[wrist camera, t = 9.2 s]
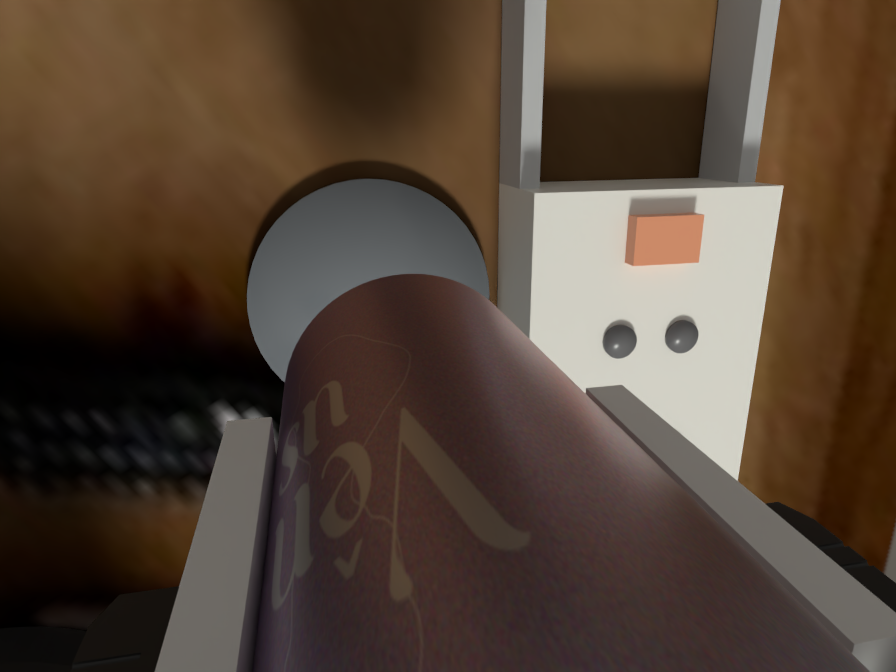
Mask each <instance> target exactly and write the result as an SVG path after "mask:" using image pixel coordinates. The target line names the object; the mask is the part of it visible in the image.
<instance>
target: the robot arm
mask: <svg viewBox="0 0 896 672" xmlns="http://www.w3.org/2000/svg"><path fill="white" fill-rule="evenodd" d="M586 395H587V396H588V397H589V398H590V399H591V400H592V401H593V402H595V403H596V404H597V405H598V406H599V407H600V408H601V409H602V410H603V411H604V412H605V413H606V414H607V415H608V416H609V417H610V418H611V419H612V420H613V421H614V422H615V423H616V424H617V425H618V426H619V427H620V428H621V429H622V430H623V431H624V432H625V433H626V434H627V435H628V436H629V437H630V438H631V439H632V440H633V441H634V442H636V443H637V444H638V445H639V446H640V447H641V448H642V449H643V450H644V451H645V452H646V453H647V454H648V455H649V456H650V457H651V458H652V459H653V460H654V461H655V462H656V463H657V464H658V465H659V466H660V467H661V468H662V469H663V470H664V471H665V472H666V473H667V474H668V475H669V476H670V477H671V478H672V479H673V480H674V481H675V482H677V483H678V484H679V485H680V486H681V487H682V488H683V489H684V490H685V491H686V492H687V493H688V494H689V495H690V496H691V497H692V498H693V499H694V500H695V501H696V502H697V503H698V504H699V505H700V506H701V507H702V508H703V509H704V510H705V511H706V512H707V513H708V514H709V515H710V516H711V517H712V518H713V519H714V520H715V521H716V522H718V523H719V524H720V525H721V526H722V527H723V528H724V529H725V530H726V531H727V532H728V533H729V534H730V535H731V536H732V537H733V538H734V539H735V540H736V541H737V542H738V543H739V544H740V545H741V546H742V547H743V548H744V549H745V550H746V551H747V552H748V553H749V554H750V555H751V556H752V557H753V558H754V559H755V560H756V561H757V562H759V563H760V564H761V565H762V566H763V567H764V568H765V569H766V570H767V571H768V572H769V573H770V574H771V575H772V576H773V577H774V578H775V579H776V580H777V581H778V582H779V583H780V584H781V585H782V586H783V587H784V588H785V589H786V590H787V591H788V592H789V593H790V594H791V595H792V596H793V597H794V598H795V599H796V600H797V601H798V602H800V603H801V604H802V605H803V606H804V607H805V608H806V609H807V610H808V611H809V612H810V613H811V614H812V615H813V616H814V617H815V618H816V619H817V620H818V621H819V622H820V623H821V624H822V625H823V626H824V627H825V628H826V629H827V630H828V631H829V632H830V633H831V634H832V635H833V636H834V637H835V638H836V639H837V640H838V641H839V642H841V643H842V644H843V645H844V646H845V647H846V648H847V649H848V650H849V651H850V652H851V653H852V654H853V655H854V656H855V657H856V658H857V659H858V660H859V661H860V662H861V663H862V664H863V665H864V666H865V667H866V668H867V669H868V670H869V671H870V672H896V583H895V582H894V581H892V580H891V579H890V578H888V577H887V576H886V575H885V574H883V573H882V572H881V571H879V570H878V569H877V568H876V567H874V566H869V565H868V564H867V560H865V559H864V558H863V557H862V556H860V555H859V554H858V553H856V552H855V551H854V550H853V549H851V548H850V547H849V546H847V547H844V545H843V542H842V541H841V540H840V539H839V538H837V537H836V536H835V535H833V534H832V533H831V532H830V531H828V530H827V529H826V528H824V527H823V526H822V525H821V524H819V523H818V522H817V521H816V520H814V519H812V518H810V517H808V516H806V515H804V514H802V513H800V512H798V511H796V510H794V509H792V508H790V507H788V506H786V505H783V504H781V503H779V502H774V503H767V504H765V503H763V502H762V501H761V500H760V499H759V498H757V497H756V496H755V495H754V494H753V493H751V492H750V491H749V490H748V489H747V488H745V487H744V486H743V485H742V484H741V483H739V482H738V481H737V480H736V479H735V478H733V477H732V476H731V475H730V474H728V473H727V472H726V471H725V470H724V469H722V468H721V467H720V466H719V465H718V464H716V463H715V462H714V461H713V460H712V459H710V458H709V457H708V456H707V455H706V454H704V453H703V452H702V451H701V450H700V449H698V448H697V447H696V446H695V445H694V444H692V443H691V442H690V441H689V440H688V439H686V438H685V437H684V436H683V435H682V434H680V433H679V432H678V431H677V430H676V429H674V428H673V427H672V426H671V425H670V424H668V423H667V422H666V421H665V420H664V419H662V418H661V417H660V416H659V415H658V414H656V413H655V412H654V411H653V410H652V409H650V408H649V407H648V406H647V405H646V404H644V403H643V402H642V401H641V400H640V399H638V398H637V397H636V396H635V395H634V394H632V393H631V392H630V391H629V390H628V389H626V388H625V387H624V386H623V385H614V386H603V387H592V388H586ZM275 466H276V452H275V443H274V434H273V424H272V417H267V418H256V419H245V420H234V421H227V424H226V427H225V431H224V434H223V438H222V441H221V444H220V448H219V451H218V455H217V458H216V462H215V465H214V469H213V472H212V475H211V479H210V482H209V486H208V489H207V493H206V496H205V500H204V503H203V507H202V510H201V513H200V517H199V520H198V524H197V527H196V531H195V534H194V538H193V541H192V545H191V548H190V551H189V555H188V558H187V562H186V565H185V569H184V572H183V576H182V579H181V583H180V586H179V587H171V588H164V589H157V590H150V591H142V592H135V593H128V594H121V595H119V596H118V597H117V598H116V599H115V600H114V601H113V602H112V603H111V604H110V605H109V606H108V607H107V608H106V609H105V610H104V611H103V612H102V613H101V614H100V615H99V616H98V618H97V619H96V620H95V621H94V622H93V623H92V624H91V625H90V626H89V627H88V629H87V631H82V630H76V629H68V628H59V627H11V628H2V629H0V672H253V663H254V654H255V645H256V637H257V628H258V619H259V610H260V601H261V592H262V583H263V574H264V565H265V556H266V547H267V538H268V529H269V520H270V511H271V502H272V493H273V484H274V475H275Z"/></svg>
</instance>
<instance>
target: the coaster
mask: <svg viewBox="0 0 896 672" xmlns="http://www.w3.org/2000/svg"><path fill="white" fill-rule="evenodd" d="M399 274H427V275H434V276H440V277H444V278H448V279H451V280H454V281H457V282H459V283H462V284H464V285H466V286H468V287H470V288H472V289H474V290H475V291H477V292H479V293H480V294H482V295H483V296H485V297H486V298H487V299H488V300H489V281H488V276H487V270H486V266H485V263H484V260H483V256H482V253H481V251H480V249H479V247H478V245H477V243H476V241H475V239H474V237H473V236H472V234H471V233H470V231H469V230H468V228H467V227H466V225H465V224H464V223H463V222H462V221H461V220H460V218H459V217H458V216H457V215H456V214H455V213H454V212H453V211H452V210H450V209H449V208H448V207H447V206H446V205H445V204H443V203H442V202H440V201H439V200H437V199H436V198H434V197H433V196H431V195H430V194H428V193H426V192H424V191H421V190H419V189H417V188H415V187H413V186H410V185H407V184H404V183H401V182H397V181H392V180H386V179H376V178H361V179H350V180H345V181H341V182H336V183H332V184H330V185H327V186H324V187H322V188H319V189H317V190H315V191H313V192H311V193H309V194H308V195H306V196H304V197H302V198H301V199H300V200H298V201H297V202H295V203H294V204H293V205H291V206H290V207H289V208H288V209H287V210H286V211H285V212H284V213H283V214H282V215H281V216H280V217H279V218H278V219H277V220H276V221H275V222H274V224H273V225H272V226H271V228H270V229H269V230H268V232H267V233H266V235H265V237H264V239H263V240H262V242H261V244H260V246H259V248H258V250H257V253H256V255H255V258H254V260H253V263H252V267H251V271H250V275H249V279H248V289H247V310H248V316H249V322H250V327H251V330H252V333H253V336H254V339H255V342H256V344H257V346H258V348H259V350H260V352H261V354H262V356H263V357H264V358H265V360H266V361H267V363H268V364H269V366H270V367H271V369H272V370H273V371H274V372H275V373H276V374H277V375H278V376H279V377H280V379H281V380H283V381H284V382H285V378H286V373H287V368H288V364H289V361H290V358H291V355H292V353H293V351H294V348H295V346H296V344H297V342H298V340H299V339H300V337H301V335H302V334H303V332H304V331H305V329H306V328H307V326H308V325H309V324H310V322H311V321H312V320H313V319H314V318H315V317H316V316H317V315H318V313H319V312H320V311H321V310H323V309H324V308H325V307H326V306H327V305H328V304H329V303H331V302H332V301H333V300H335V299H336V298H337V297H339V296H340V295H342V294H343V293H345V292H347V291H349V290H351V289H352V288H354V287H357V286H359V285H361V284H363V283H366V282H369V281H371V280H375V279H378V278H382V277H387V276H391V275H399Z"/></svg>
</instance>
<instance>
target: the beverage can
mask: <svg viewBox="0 0 896 672" xmlns="http://www.w3.org/2000/svg"><path fill="white" fill-rule="evenodd" d="M253 672H870V671H869V670H868V669H867V668H866V667H865V666H864V665H863V664H862V663H861V662H860V661H859V660H858V659H857V658H856V657H855V656H854V655H853V654H852V653H851V652H850V651H849V650H848V649H847V648H846V647H845V646H844V645H843V644H842V643H841V642H839V641H838V640H837V639H836V638H835V637H834V636H833V635H832V634H831V633H830V632H829V631H828V630H827V629H826V628H825V627H824V626H823V625H822V624H821V623H820V622H819V621H818V620H817V619H816V618H815V617H814V616H813V615H812V614H811V613H810V612H809V611H808V610H807V609H806V608H805V607H804V606H803V605H802V604H801V603H800V602H798V601H797V600H796V599H795V598H794V597H793V596H792V595H791V594H790V593H789V592H788V591H787V590H786V589H785V588H784V587H783V586H782V585H781V584H780V583H779V582H778V581H777V580H776V579H775V578H774V577H773V576H772V575H771V574H770V573H769V572H768V571H767V570H766V569H765V568H764V567H763V566H762V565H761V564H760V563H759V562H757V561H756V560H755V559H754V558H753V557H752V556H751V555H750V554H749V553H748V552H747V551H746V550H745V549H744V548H743V547H742V546H741V545H740V544H739V543H738V542H737V541H736V540H735V539H734V538H733V537H732V536H731V535H730V534H729V533H728V532H727V531H726V530H725V529H724V528H723V527H722V526H721V525H720V524H719V523H718V522H716V521H715V520H714V519H713V518H712V517H711V516H710V515H709V514H708V513H707V512H706V511H705V510H704V509H703V508H702V507H701V506H700V505H699V504H698V503H697V502H696V501H695V500H694V499H693V498H692V497H691V496H690V495H689V494H688V493H687V492H686V491H685V490H684V489H683V488H682V487H681V486H680V485H679V484H678V483H677V482H675V481H674V480H673V479H672V478H671V477H670V476H669V475H668V474H667V473H666V472H665V471H664V470H663V469H662V468H661V467H660V466H659V465H658V464H657V463H656V462H655V461H654V460H653V459H652V458H651V457H650V456H649V455H648V454H647V453H646V452H645V451H644V450H643V449H642V448H641V447H640V446H639V445H638V444H637V443H636V442H634V441H633V440H632V439H631V438H630V437H629V436H628V435H627V434H626V433H625V432H624V431H623V430H622V429H621V428H620V427H619V426H618V425H617V424H616V423H615V422H614V421H613V420H612V419H611V418H610V417H609V416H608V415H607V414H606V413H605V412H604V411H603V410H602V409H601V408H600V407H599V406H598V405H597V404H596V403H595V402H593V401H592V400H591V399H590V398H589V397H588V396H587V395H586V394H585V393H584V392H583V391H582V390H581V389H580V388H579V387H578V386H577V385H576V384H575V383H574V382H573V381H572V380H571V379H570V378H569V377H568V376H567V375H566V374H565V373H564V372H563V371H562V370H561V369H560V368H559V367H558V366H557V365H556V364H555V363H554V362H552V361H551V360H550V359H549V358H548V357H547V356H546V355H545V354H544V353H543V352H542V351H541V350H540V349H539V348H538V347H537V346H536V345H535V344H534V343H533V342H532V341H531V340H530V339H529V338H528V337H527V336H526V335H525V334H524V333H523V332H522V331H521V330H520V329H519V328H518V327H517V326H516V325H515V324H514V323H513V322H511V321H510V320H509V319H508V318H507V317H506V316H505V315H504V314H503V313H502V312H501V311H500V310H499V309H498V308H497V307H496V306H495V305H494V304H493V303H492V302H491V301H489V300H488V299H487V298H486V297H485V296H483V295H482V294H480V293H479V292H477V291H475V290H474V289H472V288H470V287H468V286H466V285H464V284H462V283H459V282H457V281H454V280H451V279H448V278H444V277H440V276H434V275H427V274H399V275H391V276H387V277H382V278H378V279H375V280H371V281H369V282H366V283H363V284H361V285H359V286H357V287H354V288H352V289H351V290H349V291H347V292H345V293H343V294H342V295H340V296H339V297H337V298H336V299H335V300H333V301H332V302H331V303H329V304H328V305H327V306H326V307H325V308H324V309H323V310H321V311H320V312H319V313H318V315H317V316H316V317H315V318H314V319H313V320H312V321H311V322H310V324H309V325H308V326H307V328H306V329H305V331H304V332H303V334H302V335H301V337H300V339H299V340H298V342H297V344H296V346H295V348H294V351H293V353H292V355H291V358H290V361H289V364H288V368H287V373H286V378H285V386H284V395H283V404H282V413H281V422H280V431H279V439H278V448H277V457H276V466H275V475H274V484H273V493H272V502H271V511H270V520H269V529H268V538H267V547H266V556H265V565H264V574H263V583H262V592H261V601H260V610H259V619H258V628H257V637H256V645H255V654H254V663H253Z"/></svg>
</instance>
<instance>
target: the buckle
mask: <svg viewBox="0 0 896 672" xmlns="http://www.w3.org/2000/svg"><path fill="white" fill-rule="evenodd" d="M780 1H781V0H719V1H718V10H717V19H716V28H715V37H714V46H713V54H712V63H711V72H710V81H709V90H708V98H707V107H706V116H705V125H704V134H703V142H702V151H701V160H700V169H699V178H671V179H633V180H595V181H558V182H540V161H541V133H542V106H543V79H544V51H545V24H546V0H502V52H501V112H500V171H499V231H498V291H497V308H498V309H499V310H500V311H501V312H502V313H503V314H504V315H505V316H506V317H507V318H508V319H509V320H510V321H511V322H513V323H514V324H515V325H516V326H517V327H518V328H519V329H520V330H521V331H522V332H523V333H524V334H525V335H526V336H527V337H528V338H529V339H530V340H531V341H532V342H533V343H534V344H535V345H536V346H537V347H538V348H539V349H540V350H541V351H542V352H543V353H544V354H545V355H546V356H547V357H548V358H549V359H550V360H551V361H552V362H554V363H555V364H556V365H557V366H558V367H559V368H560V369H561V370H562V371H563V372H564V373H565V374H566V375H567V376H568V377H569V378H570V379H571V380H572V381H573V382H574V383H575V384H576V385H577V386H578V387H579V388H580V389H581V390H582V391H583V392H584V393H585V394H586V388H592V387H603V386H614V385H623V386H624V387H625V388H626V389H628V390H629V391H630V392H631V393H632V394H634V395H635V396H636V397H637V398H638V399H640V400H641V401H642V402H643V403H644V404H646V405H647V406H648V407H649V408H650V409H652V410H653V411H654V412H655V413H656V414H658V415H659V416H660V417H661V418H662V419H664V420H665V421H666V422H667V423H668V424H670V425H671V426H672V427H673V428H674V429H676V430H677V431H678V432H679V433H680V434H682V435H683V436H684V437H685V438H686V439H688V440H689V441H690V442H691V443H692V444H694V445H695V446H696V447H697V448H698V449H700V450H701V451H702V452H703V453H704V454H706V455H707V456H708V457H709V458H710V459H712V460H713V461H714V462H715V463H716V464H718V465H719V466H720V467H721V468H722V469H724V470H725V471H726V472H727V473H728V474H730V475H731V476H732V477H733V478H735V479H736V480H737V481H738V475H739V468H740V462H741V455H742V449H743V443H744V436H745V430H746V423H747V417H748V410H749V404H750V398H751V391H752V385H753V378H754V372H755V365H756V359H757V353H758V346H759V340H760V333H761V327H762V320H763V314H764V308H765V301H766V295H767V288H768V282H769V275H770V269H771V262H772V256H773V250H774V243H775V237H776V230H777V224H778V217H779V211H780V205H781V198H782V192H783V186H782V185H774V184H765V183H757V182H755V178H756V170H757V163H758V156H759V149H760V142H761V135H762V128H763V121H764V114H765V107H766V100H767V93H768V86H769V78H770V71H771V64H772V57H773V50H774V43H775V36H776V29H777V22H778V15H779V8H780Z"/></svg>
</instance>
